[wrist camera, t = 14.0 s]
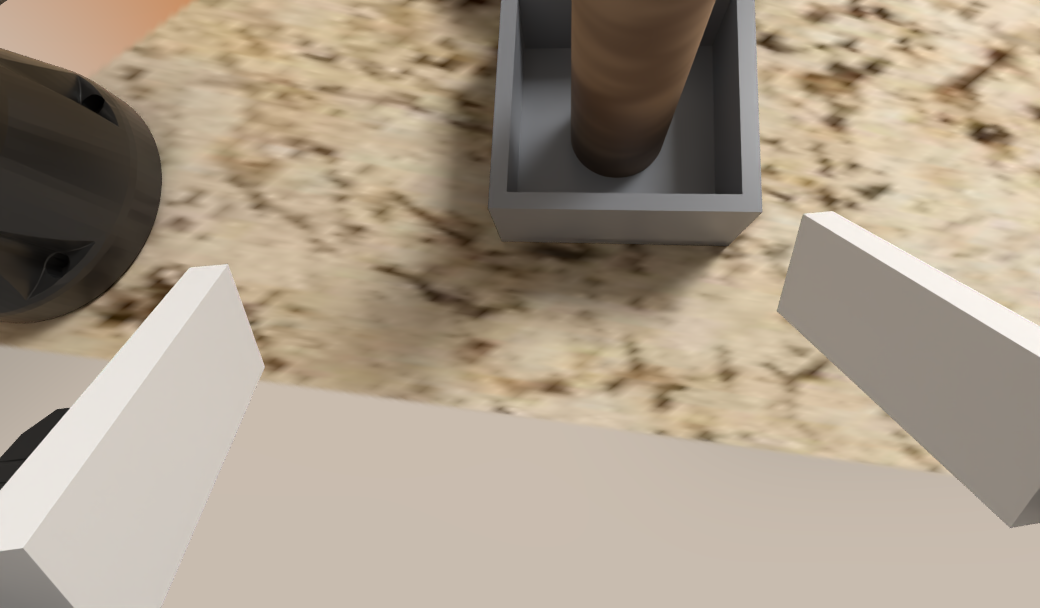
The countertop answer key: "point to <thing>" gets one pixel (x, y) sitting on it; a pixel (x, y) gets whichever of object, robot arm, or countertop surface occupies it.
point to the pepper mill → (629, 77)
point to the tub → (657, 189)
